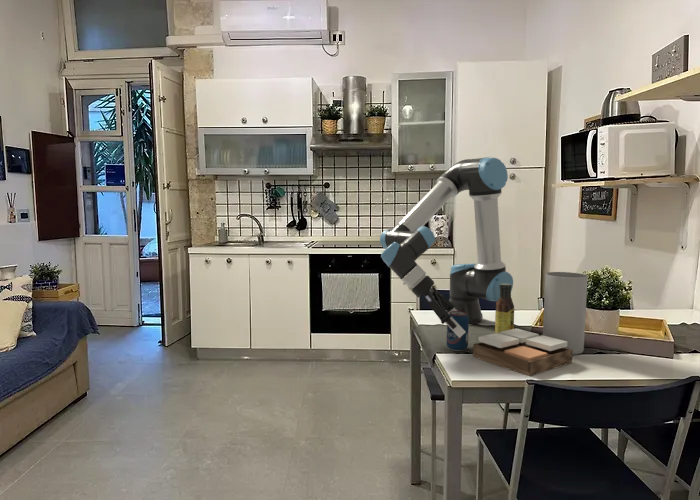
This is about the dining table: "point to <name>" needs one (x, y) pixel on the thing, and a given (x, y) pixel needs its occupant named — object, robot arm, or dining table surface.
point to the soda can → (452, 338)
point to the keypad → (519, 364)
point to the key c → (546, 343)
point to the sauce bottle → (504, 310)
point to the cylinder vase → (565, 308)
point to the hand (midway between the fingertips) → (463, 329)
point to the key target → (525, 353)
